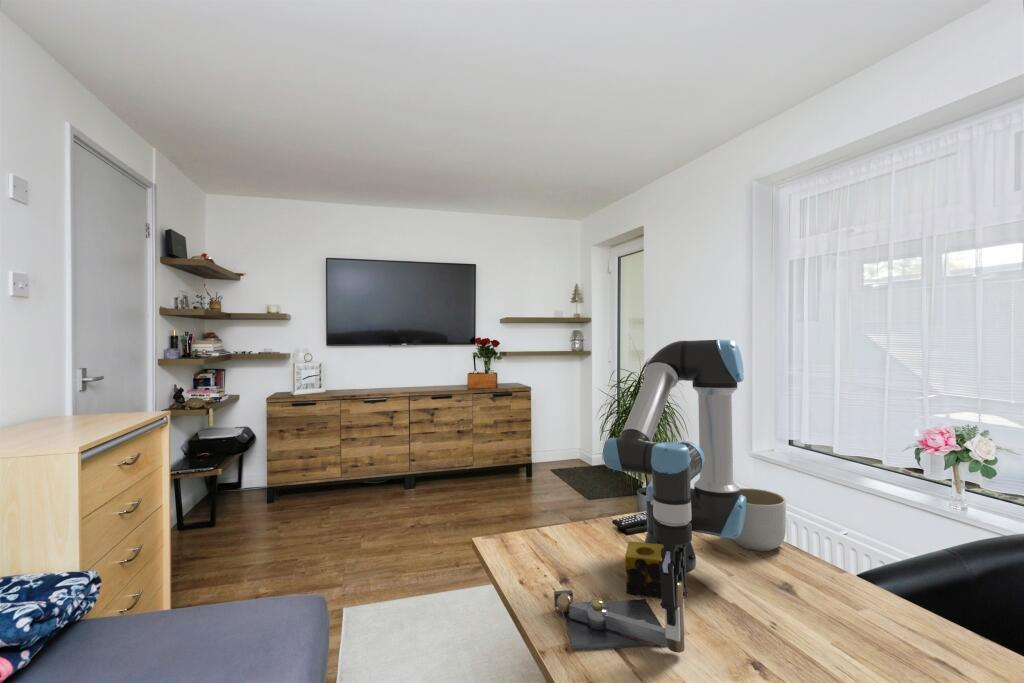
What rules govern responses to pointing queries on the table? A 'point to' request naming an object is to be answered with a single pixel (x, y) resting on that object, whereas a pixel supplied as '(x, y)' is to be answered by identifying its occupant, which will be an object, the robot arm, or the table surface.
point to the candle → (643, 569)
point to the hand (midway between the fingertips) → (675, 632)
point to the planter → (763, 520)
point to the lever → (629, 623)
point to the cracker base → (605, 638)
